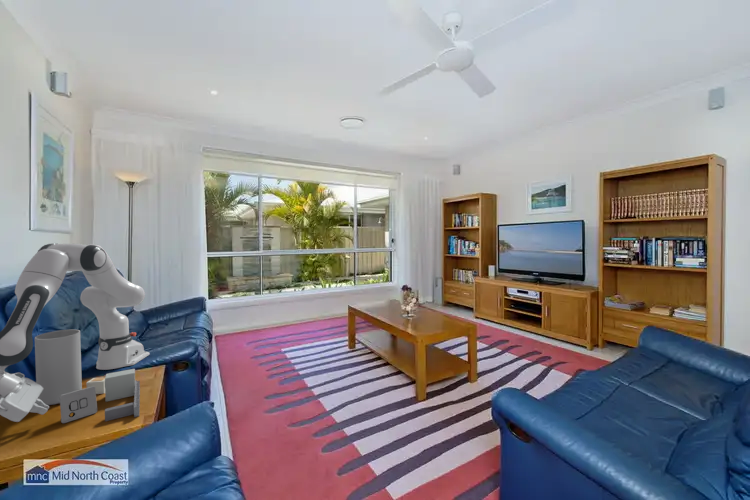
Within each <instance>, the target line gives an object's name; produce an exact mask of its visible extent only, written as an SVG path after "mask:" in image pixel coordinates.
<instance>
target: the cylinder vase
mask: <svg viewBox="0 0 750 500" xmlns="http://www.w3.org/2000/svg"><path fill="white" fill-rule="evenodd" d="M81 343H82V341H81V330H79V329H61V330H60V329H59V330H53V331H48V332H45V333H40V334H38V335H36V336H35V337H34V356H35V357H34V360H35V382H36V383H38V384H39V385H41V386H42V387H43V391H42V392H41V394H40V395H39V397H38V399H40V400H42V401H43V402H44V403H45V404H46V405H48V406H52V405H57V404H58V405H60V401H59V397H60V396H61V395H63V394H67V393H70V392H74V391H78V390H81V389H83V384H82V382H83V381H82V378H83V377H82V352H81V351H82V350H81V349H82V347H81V345H82V344H81Z"/></svg>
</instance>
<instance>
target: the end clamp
mask: <svg viewBox="0 0 750 500" xmlns="http://www.w3.org/2000/svg"><path fill="white" fill-rule="evenodd" d="M132 415H133V416H134V401H133V402H129V403H124V404H121V405H116V406H112V407H108V408H105V409H104V422H109V421H113V420H117V419H120V418H124V417H128V416H132Z"/></svg>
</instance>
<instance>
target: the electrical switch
mask: <svg viewBox="0 0 750 500" xmlns="http://www.w3.org/2000/svg"><path fill="white" fill-rule="evenodd" d="M59 401H60V403H59V407H60V422H61V423H62V424H66V423H69V422H72V421H75V420H79V419H82V418H85V417H88V416H91V415H94V414H96V413H97V412H98V403H97V402H98V401H97V394H96V391H95V387H94V386H92V387H88V388H87V387H86V388H82V389H81V390H78V391H74V392H70V393H67V394H63V395H61V396H60V397H59ZM71 414H72V415H71Z"/></svg>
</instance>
